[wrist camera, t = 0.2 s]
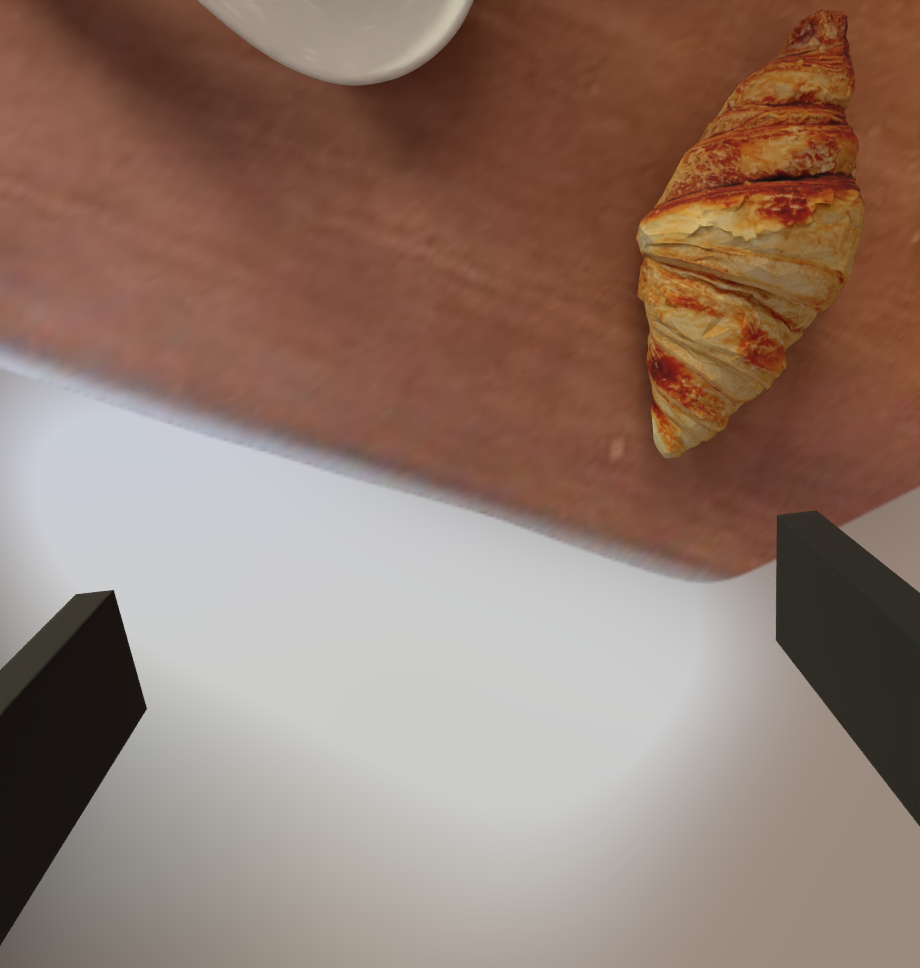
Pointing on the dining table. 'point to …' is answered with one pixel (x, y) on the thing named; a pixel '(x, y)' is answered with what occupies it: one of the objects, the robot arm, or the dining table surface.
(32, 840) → the robot arm
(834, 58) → the croissant
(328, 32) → the spoon rest
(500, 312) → the dining table surface
